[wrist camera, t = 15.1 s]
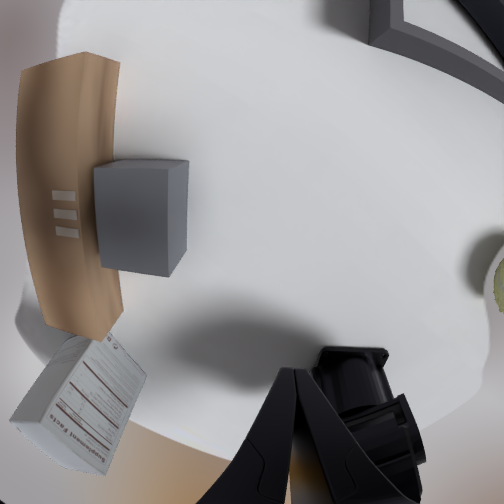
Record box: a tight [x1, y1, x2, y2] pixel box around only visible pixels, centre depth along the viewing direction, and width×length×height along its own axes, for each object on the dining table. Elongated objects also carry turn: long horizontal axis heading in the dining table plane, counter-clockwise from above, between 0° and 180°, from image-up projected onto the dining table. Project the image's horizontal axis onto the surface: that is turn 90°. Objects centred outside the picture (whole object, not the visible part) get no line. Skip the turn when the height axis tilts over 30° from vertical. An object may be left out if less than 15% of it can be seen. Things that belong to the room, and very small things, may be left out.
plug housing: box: [94, 159, 189, 277], centre depth 18 cm, size 5×6×4 cm
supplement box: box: [9, 332, 146, 476], centre depth 21 cm, size 7×7×13 cm
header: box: [16, 52, 123, 342], centre depth 17 cm, size 11×20×4 cm, turn 174°
